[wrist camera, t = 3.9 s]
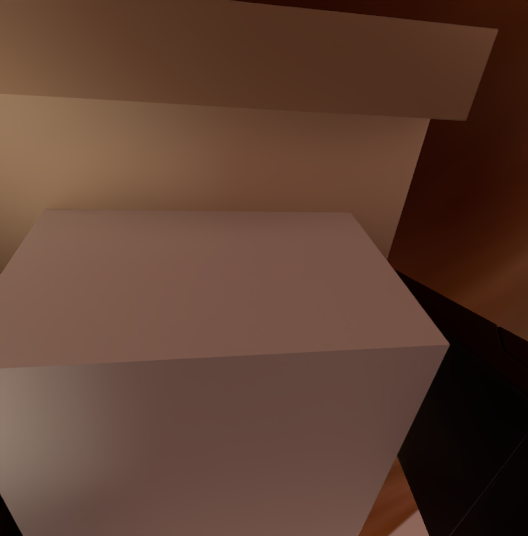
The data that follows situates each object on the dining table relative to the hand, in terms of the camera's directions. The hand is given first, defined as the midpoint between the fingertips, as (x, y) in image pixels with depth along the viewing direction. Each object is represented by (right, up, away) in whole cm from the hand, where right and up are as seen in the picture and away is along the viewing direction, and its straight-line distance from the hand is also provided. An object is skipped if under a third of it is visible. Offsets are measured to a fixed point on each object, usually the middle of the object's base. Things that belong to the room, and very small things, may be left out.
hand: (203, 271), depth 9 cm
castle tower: (0, +1, +1) cm, 1 cm away
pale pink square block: (0, -1, -1) cm, 2 cm away
